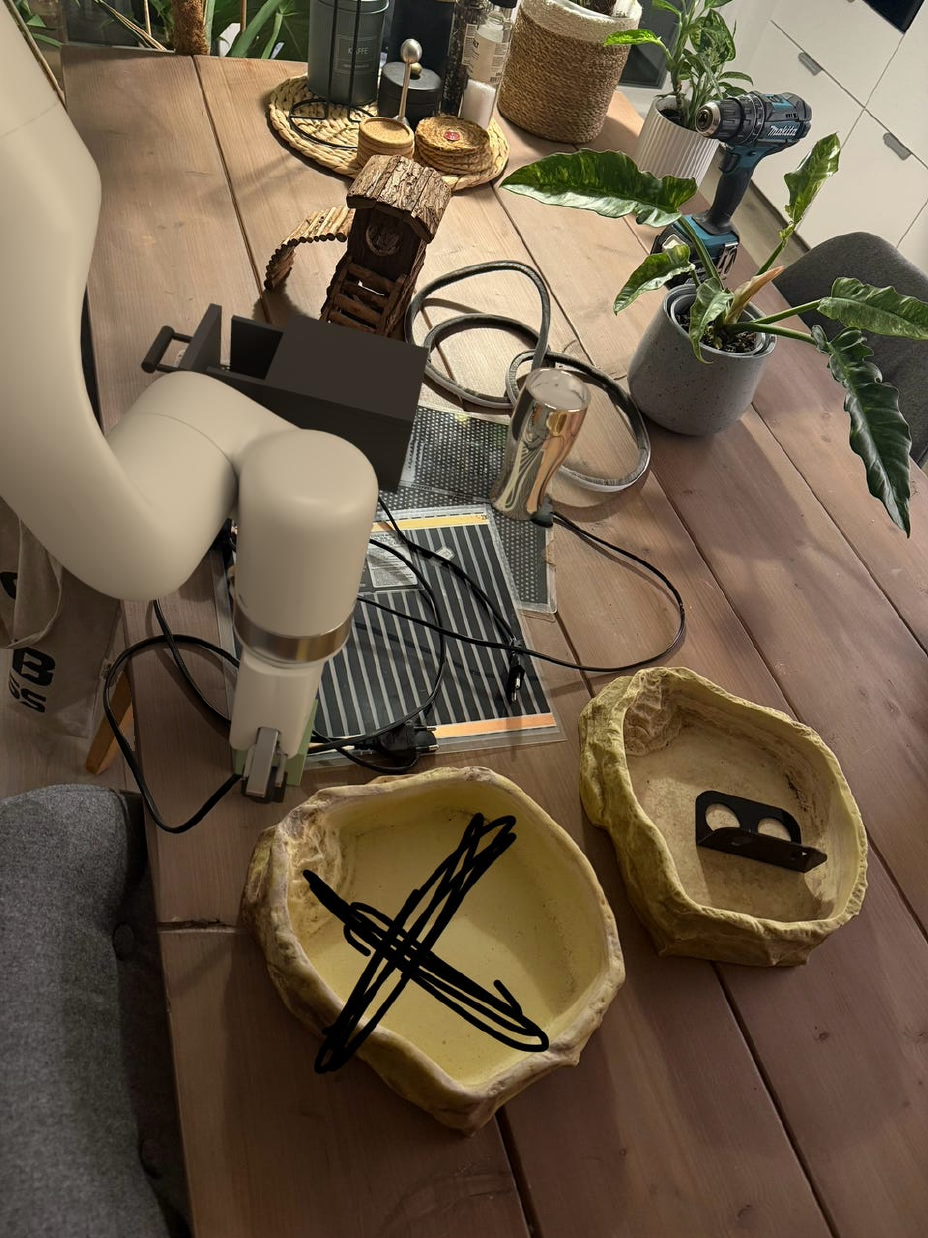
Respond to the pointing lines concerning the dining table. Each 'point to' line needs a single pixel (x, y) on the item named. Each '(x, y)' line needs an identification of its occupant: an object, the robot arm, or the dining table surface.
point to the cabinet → (349, 389)
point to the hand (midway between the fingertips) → (276, 745)
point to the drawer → (203, 354)
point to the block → (294, 763)
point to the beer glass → (539, 440)
